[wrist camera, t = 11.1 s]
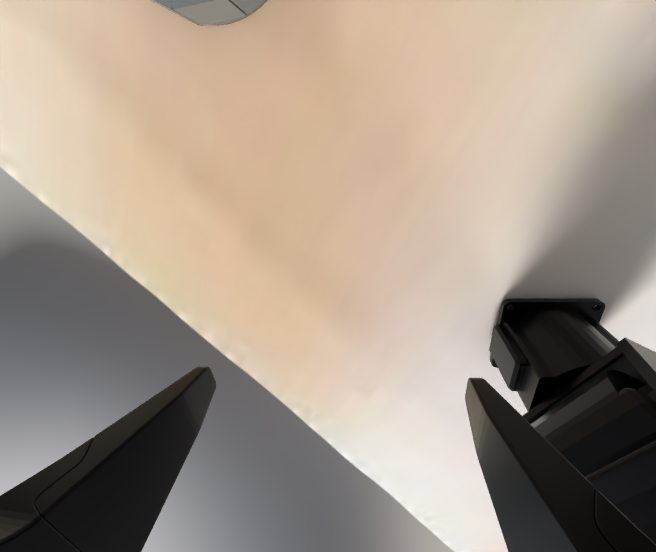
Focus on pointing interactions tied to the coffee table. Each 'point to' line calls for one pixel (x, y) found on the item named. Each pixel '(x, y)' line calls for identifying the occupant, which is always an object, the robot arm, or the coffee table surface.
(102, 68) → the coffee table surface
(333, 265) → the coffee table surface
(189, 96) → the coffee table surface
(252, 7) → the ring holder
